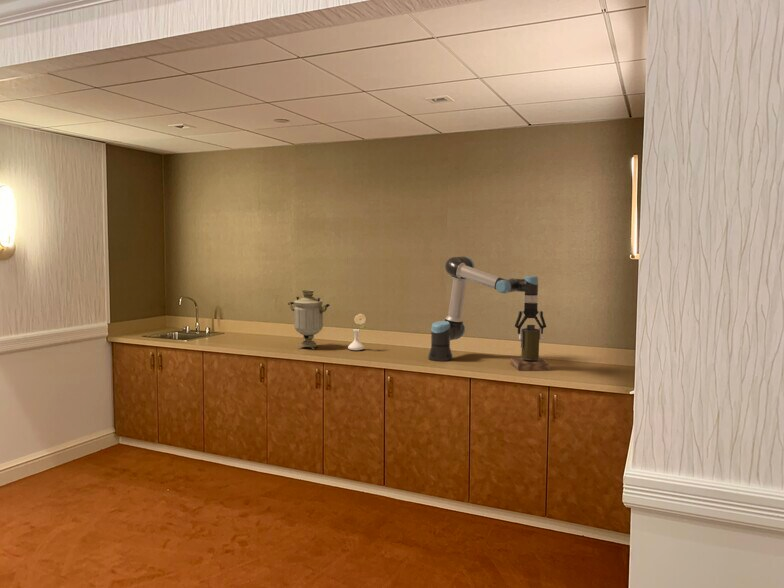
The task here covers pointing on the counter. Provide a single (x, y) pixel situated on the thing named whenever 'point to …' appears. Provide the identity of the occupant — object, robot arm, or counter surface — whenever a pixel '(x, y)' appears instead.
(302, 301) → the samovar
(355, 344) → the flower in vase
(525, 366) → the walnut base
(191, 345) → the counter surface
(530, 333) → the canister
